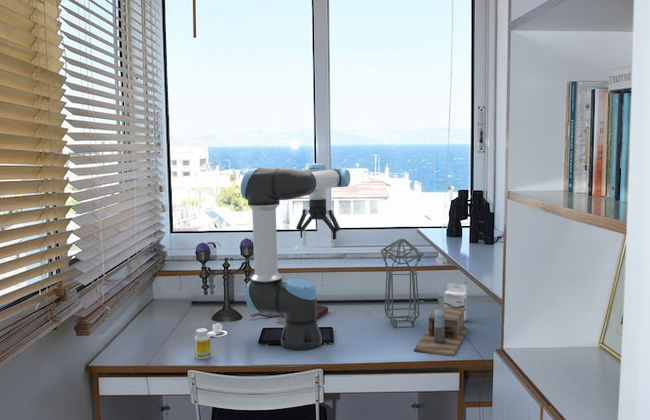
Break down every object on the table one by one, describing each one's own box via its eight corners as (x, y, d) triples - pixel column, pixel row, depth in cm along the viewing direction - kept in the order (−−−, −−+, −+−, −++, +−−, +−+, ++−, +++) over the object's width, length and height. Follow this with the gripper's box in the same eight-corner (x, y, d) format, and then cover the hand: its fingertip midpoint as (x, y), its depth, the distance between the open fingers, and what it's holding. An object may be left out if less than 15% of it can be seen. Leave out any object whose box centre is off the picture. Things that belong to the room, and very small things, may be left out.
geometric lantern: (384, 330, 236) (384, 242, 233) (380, 319, 252) (380, 236, 248) (425, 329, 237) (425, 241, 233) (418, 318, 252) (418, 235, 248)
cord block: (446, 344, 216) (447, 311, 215) (430, 342, 218) (430, 310, 217) (457, 327, 236) (457, 297, 235) (441, 325, 238) (442, 295, 237)
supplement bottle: (191, 357, 210) (190, 330, 209) (204, 352, 214) (203, 326, 213) (200, 360, 207) (199, 333, 206) (213, 356, 211) (212, 329, 210)
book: (328, 313, 263) (328, 305, 263) (306, 327, 243) (306, 319, 243) (300, 310, 269) (299, 302, 269) (276, 324, 249) (275, 315, 249)
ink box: (443, 320, 249) (443, 285, 247) (446, 317, 253) (446, 282, 252) (463, 322, 245) (463, 287, 243) (466, 319, 249) (467, 284, 248)
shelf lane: (454, 356, 207) (454, 333, 206) (413, 351, 212) (413, 329, 211) (468, 329, 236) (468, 309, 236) (432, 325, 242) (432, 306, 241)
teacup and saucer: (209, 339, 230) (209, 329, 230) (201, 334, 237) (201, 324, 236) (230, 335, 235) (230, 325, 235) (222, 330, 242) (222, 320, 241)
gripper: (347, 198, 266) (347, 245, 268) (295, 197, 275) (296, 243, 277) (341, 199, 259) (341, 248, 261) (288, 198, 268) (289, 246, 270)
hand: (318, 246), depth 269 cm, fingers open, 13 cm apart
